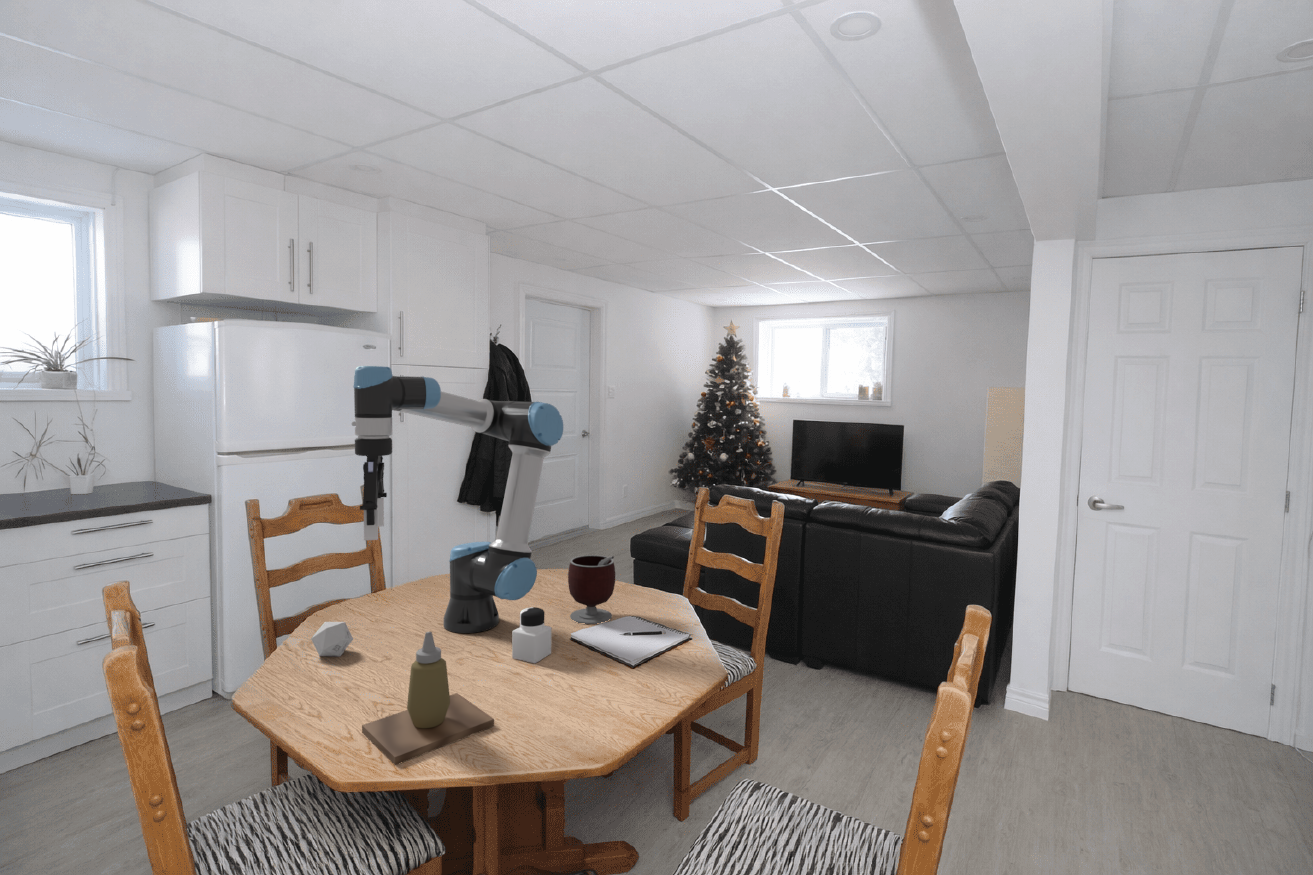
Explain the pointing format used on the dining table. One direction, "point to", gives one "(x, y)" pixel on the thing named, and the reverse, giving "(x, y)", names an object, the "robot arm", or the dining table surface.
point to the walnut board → (425, 730)
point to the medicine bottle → (531, 636)
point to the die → (332, 639)
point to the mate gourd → (591, 586)
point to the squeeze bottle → (428, 686)
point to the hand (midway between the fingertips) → (374, 532)
